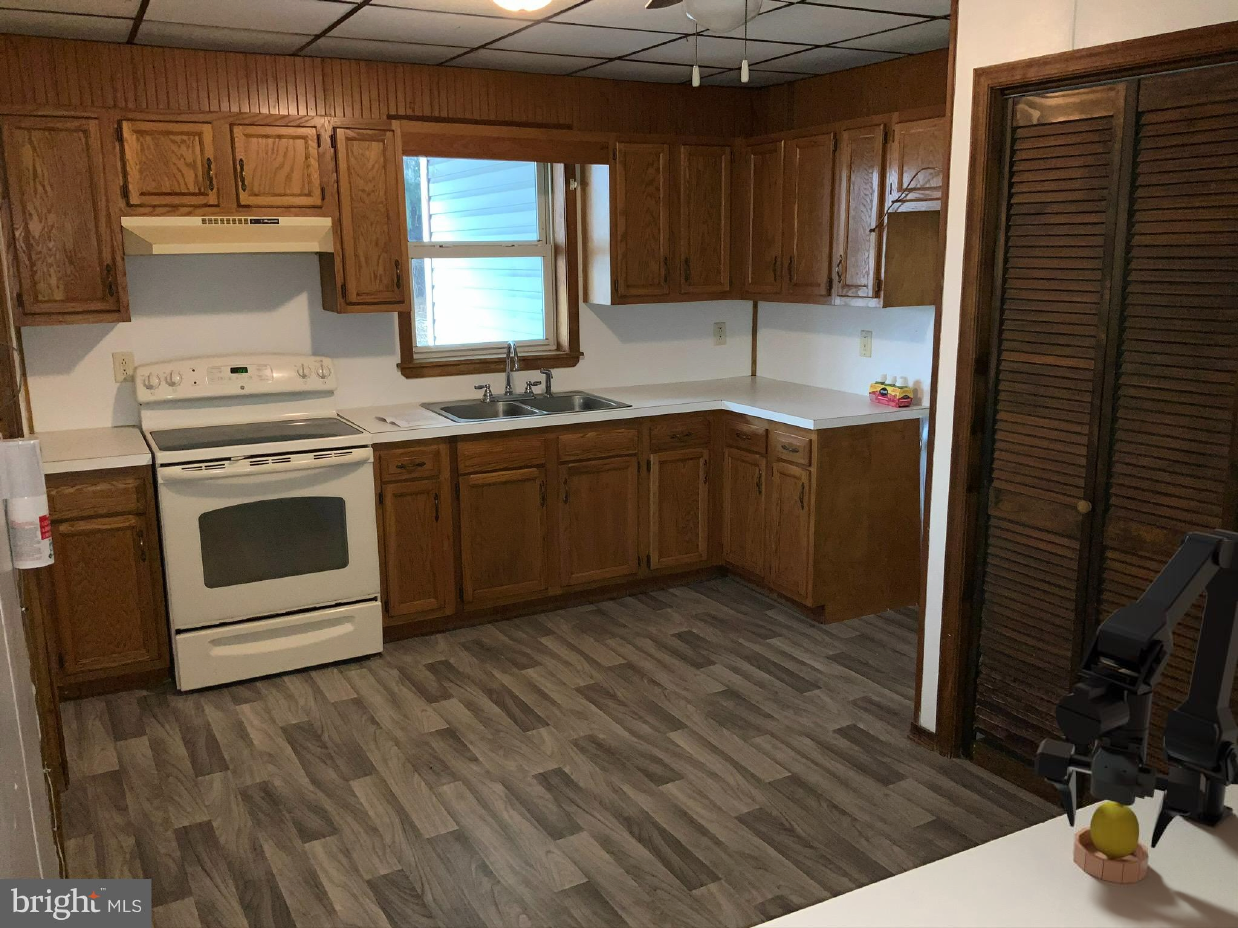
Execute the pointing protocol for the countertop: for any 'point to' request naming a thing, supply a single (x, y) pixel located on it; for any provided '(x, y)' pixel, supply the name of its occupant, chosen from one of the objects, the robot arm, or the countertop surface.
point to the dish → (1107, 869)
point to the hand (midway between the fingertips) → (1111, 835)
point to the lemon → (1114, 830)
